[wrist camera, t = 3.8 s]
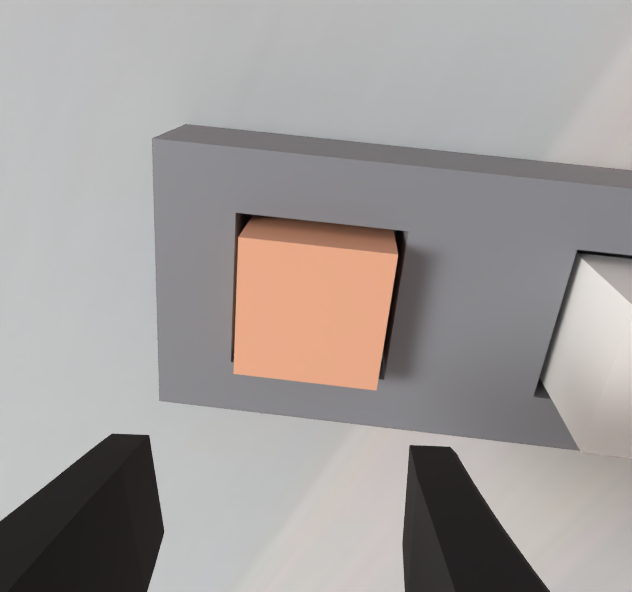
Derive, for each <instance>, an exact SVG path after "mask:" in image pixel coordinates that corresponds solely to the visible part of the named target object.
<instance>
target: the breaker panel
mask: <svg viewBox="0 0 632 592" xmlns="http://www.w3.org/2000/svg"><path fill="white" fill-rule="evenodd" d="M152 155H153V190H154V225H155V260H156V295H157V330H158V366H159V401H165V402H173V403H182V404H190V405H198V406H207V407H215V408H224V409H232V410H241V411H249V412H258V413H266V414H275V415H283V416H292V417H300V418H308V419H317V420H325V421H334V422H342V423H351V424H359V425H368V426H376V427H385V428H393V429H401V430H410V431H418V432H427V433H435V434H444V435H452V436H461V437H469V438H478V439H486V440H495V441H503V442H511V443H520V444H528V445H537V446H545V447H554V448H562V449H571V450H579V448H578V446H577V444H576V443H575V441H574V439H573V437H572V435H571V434H570V432H569V430H568V428H567V426H566V425H565V423H564V421H563V419H562V417H561V416H560V414H559V412H558V410H557V408H556V406H555V405H554V403H553V401H552V399H551V397H550V396H549V394H548V392H547V390H546V388H545V387H544V385H543V383H542V381H541V379H540V378H539V376H540V373H541V370H542V366H543V363H544V360H545V356H546V353H547V350H548V346H549V343H550V339H551V336H552V333H553V329H554V326H555V323H556V319H557V316H558V313H559V309H560V306H561V302H562V299H563V296H564V292H565V289H566V286H567V282H568V279H569V276H570V272H571V269H572V265H573V262H574V259H575V255H576V253H582V254H592V255H601V256H610V257H619V258H629V259H632V171H630V170H620V169H611V168H601V167H591V166H582V165H572V164H562V163H553V162H543V161H534V160H524V159H514V158H505V157H495V156H485V155H476V154H466V153H457V152H447V151H437V150H428V149H418V148H408V147H399V146H389V145H379V144H370V143H360V142H351V141H341V140H331V139H322V138H312V137H302V136H293V135H283V134H274V133H264V132H254V131H245V130H235V129H225V128H216V127H206V126H196V125H187V124H185V125H183V126H181V127H178V128H176V129H173V130H171V131H169V132H166V133H164V134H161V135H159V136H157V137H154V138H152ZM252 215H262V216H271V217H280V218H290V219H299V220H308V221H317V222H327V223H336V224H345V225H354V226H364V227H373V228H382V229H391V230H394V235H395V240H396V245H397V251H398V259H397V266H396V272H395V278H394V284H393V291H392V297H391V303H390V309H389V316H388V322H387V328H386V335H385V341H384V347H383V353H382V360H381V366H380V372H379V378H378V385H377V391H376V390H368V389H359V388H350V387H342V386H333V385H325V384H316V383H308V382H299V381H290V380H282V379H273V378H265V377H256V376H247V375H239V374H233V373H234V345H235V316H236V288H237V260H238V237H239V235H240V234H241V232H242V231H243V229H244V228H245V226H246V225H247V223H248V221H249V220H250V218H251V217H252ZM579 451H580V450H579Z"/></svg>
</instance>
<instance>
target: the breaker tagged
mask: <svg viewBox="0 0 632 592" xmlns="http://www.w3.org/2000/svg"><path fill="white" fill-rule="evenodd" d="M397 259H398V251H397V245H396V240H395V235H394V230H391V229H382V228H373V227H364V226H354V225H345V224H336V223H327V222H317V221H308V220H299V219H290V218H280V217H271V216H262V215H252V217H251V218H250V220H249V221H248V223H247V225H246V226H245V228H244V229H243V231H242V232H241V234H240V235H239V237H238V260H237V288H236V316H235V345H234V373H233V374H239V375H247V376H256V377H265V378H273V379H282V380H290V381H299V382H308V383H316V384H325V385H333V386H342V387H350V388H359V389H368V390H376V391H377V385H378V378H379V372H380V366H381V360H382V353H383V347H384V341H385V335H386V328H387V322H388V316H389V309H390V303H391V297H392V291H393V284H394V278H395V272H396V266H397Z"/></svg>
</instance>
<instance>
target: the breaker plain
mask: <svg viewBox="0 0 632 592" xmlns="http://www.w3.org/2000/svg"><path fill="white" fill-rule="evenodd" d="M539 378H540V379H541V381H542V383H543V385H544V387H545V388H546V390H547V392H548V394H549V396H550V397H551V399H552V401H553V403H554V405H555V406H556V408H557V410H558V412H559V414H560V416H561V417H562V419H563V421H564V423H565V425H566V426H567V428H568V430H569V432H570V434H571V435H572V437H573V439H574V441H575V443H576V444H577V446H578V448H579V450H580V452H581V453H587V454H595V455H604V456H612V457H621V458H629V459H632V259H629V258H619V257H610V256H601V255H592V254H582V253H576V255H575V259H574V262H573V265H572V269H571V272H570V276H569V279H568V282H567V286H566V289H565V292H564V296H563V299H562V302H561V306H560V309H559V313H558V316H557V319H556V323H555V326H554V329H553V333H552V336H551V339H550V343H549V346H548V350H547V353H546V356H545V360H544V363H543V366H542V370H541V373H540V376H539Z"/></svg>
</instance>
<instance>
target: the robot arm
mask: <svg viewBox="0 0 632 592" xmlns="http://www.w3.org/2000/svg"><path fill="white" fill-rule="evenodd" d="M163 535H164V527H163V521H162V514H161V508H160V502H159V495H158V489H157V483H156V476H155V470H154V463H153V457H152V451H151V444H150V438H149V435H131V434H111V435H110V436H108V437H107V438H106V439H104V440H103V441H102V442H100V443H99V444H98V445H96V446H95V447H94V448H92V449H91V450H90V451H89V452H87V453H86V454H85V455H84V456H82V457H81V458H80V459H79V460H77V461H76V462H75V463H74V464H72V465H71V466H70V467H69V468H67V469H66V470H65V471H64V472H62V473H61V474H60V475H59V476H57V477H56V478H55V479H54V480H52V481H51V482H50V483H49V484H47V485H46V486H45V487H44V488H42V489H41V490H40V491H38V492H37V493H36V494H35V495H33V496H32V497H31V498H30V499H28V500H27V501H26V502H24V503H23V504H22V505H21V506H19V507H18V508H17V509H15V510H14V511H13V512H12V513H10V514H9V515H8V516H7V517H5V518H4V519H3V520H1V521H0V592H147V590H148V587H149V583H150V580H151V577H152V573H153V570H154V567H155V563H156V560H157V556H158V553H159V549H160V545H161V542H162V538H163ZM403 563H404V581H405V592H550V591H549V590H548V588H547V587H546V586H545V584H544V583H543V582H542V580H541V579H540V578H539V576H538V575H537V574H536V573H535V571H534V570H533V568H532V567H531V566H530V564H529V563H528V562H527V560H526V559H525V557H524V556H523V555H522V553H521V552H520V550H519V549H518V548H517V546H516V545H515V544H514V542H513V541H512V539H511V538H510V537H509V535H508V534H507V532H506V531H505V530H504V528H503V527H502V525H501V524H500V522H499V521H498V519H497V518H496V516H495V515H494V513H493V512H492V510H491V509H490V507H489V506H488V504H487V503H486V501H485V500H484V498H483V497H482V495H481V494H480V492H479V490H478V489H477V487H476V486H475V484H474V482H473V481H472V479H471V478H470V476H469V474H468V473H467V471H466V469H465V468H464V466H463V464H462V462H461V461H460V459H459V457H458V455H457V454H456V453H455V452H454V450H453V449H452V448H451V447H441V446H415V445H410V448H409V462H408V475H407V489H406V503H405V517H404V530H403Z"/></svg>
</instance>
